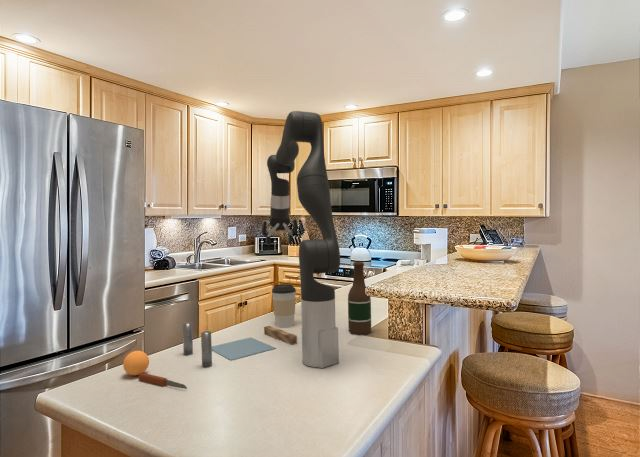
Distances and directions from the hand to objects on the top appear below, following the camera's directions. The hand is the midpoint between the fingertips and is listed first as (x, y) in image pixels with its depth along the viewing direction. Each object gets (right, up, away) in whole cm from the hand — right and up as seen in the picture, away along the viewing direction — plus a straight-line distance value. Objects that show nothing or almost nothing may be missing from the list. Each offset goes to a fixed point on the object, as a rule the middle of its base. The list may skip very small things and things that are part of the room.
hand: (279, 244), depth 161 cm
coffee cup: (+4, -30, -15) cm, 33 cm away
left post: (-22, -30, -45) cm, 59 cm away
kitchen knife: (-21, -31, -67) cm, 77 cm away
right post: (-14, -30, -55) cm, 65 cm away
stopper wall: (+4, -30, -32) cm, 44 cm away
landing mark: (-7, -30, -41) cm, 51 cm away
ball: (-30, -28, -60) cm, 73 cm away
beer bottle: (+30, -29, -27) cm, 50 cm away
